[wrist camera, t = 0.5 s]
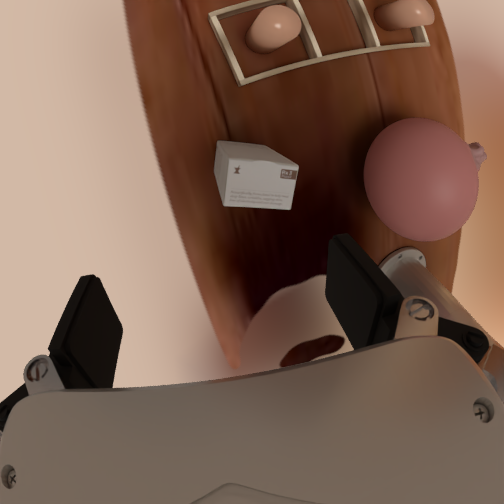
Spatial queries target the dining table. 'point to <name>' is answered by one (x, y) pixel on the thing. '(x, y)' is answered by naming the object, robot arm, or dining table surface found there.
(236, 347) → the dining table surface
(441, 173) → the balloon
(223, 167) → the skincare box
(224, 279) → the dining table surface
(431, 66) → the dining table surface
